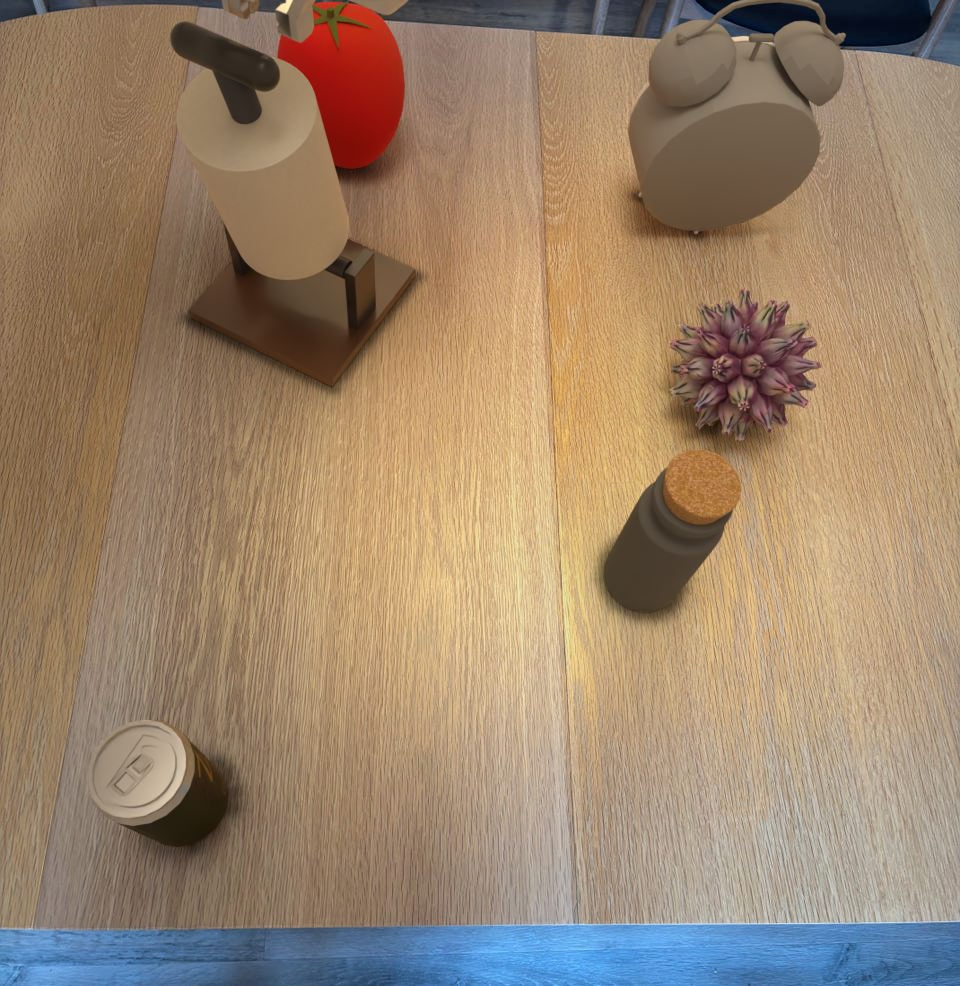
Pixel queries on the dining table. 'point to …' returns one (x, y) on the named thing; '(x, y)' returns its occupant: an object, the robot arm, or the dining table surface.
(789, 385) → the flower
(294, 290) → the holder base
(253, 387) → the dining table surface
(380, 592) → the dining table surface
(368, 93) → the tomato
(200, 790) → the beer can
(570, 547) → the dining table surface
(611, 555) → the bottle
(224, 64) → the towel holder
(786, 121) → the alarm clock
